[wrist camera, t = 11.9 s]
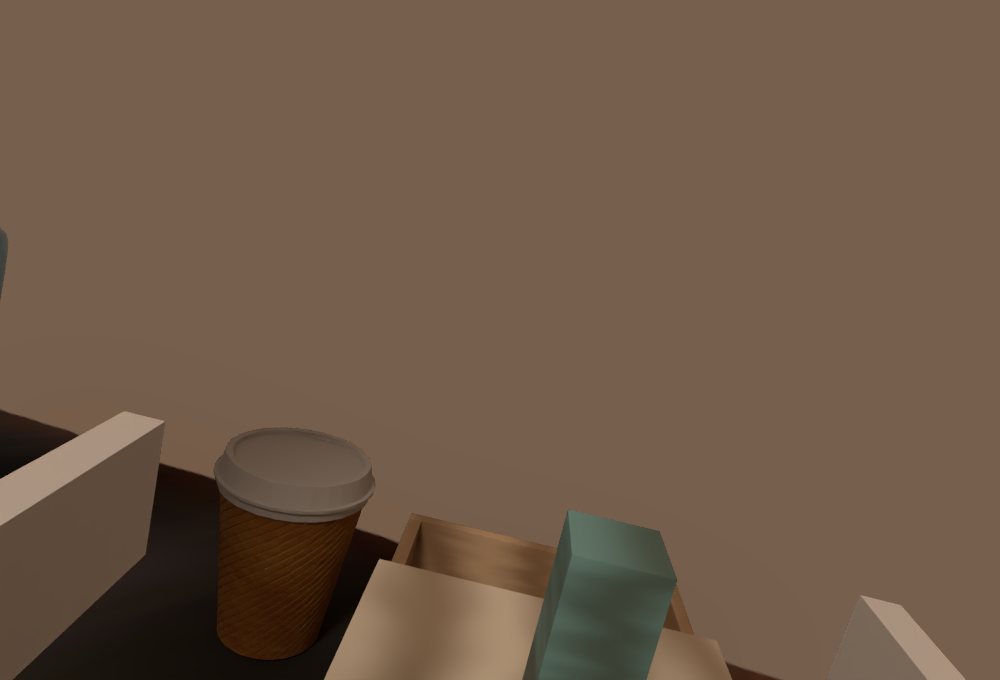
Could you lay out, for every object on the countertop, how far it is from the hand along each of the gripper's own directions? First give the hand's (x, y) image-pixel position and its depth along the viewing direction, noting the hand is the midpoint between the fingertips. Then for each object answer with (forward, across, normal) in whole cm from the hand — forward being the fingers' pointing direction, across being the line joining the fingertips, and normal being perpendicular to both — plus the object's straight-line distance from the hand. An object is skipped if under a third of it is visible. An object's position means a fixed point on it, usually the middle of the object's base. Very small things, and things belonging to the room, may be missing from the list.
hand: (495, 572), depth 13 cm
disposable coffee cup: (+28, -11, -24) cm, 38 cm away
